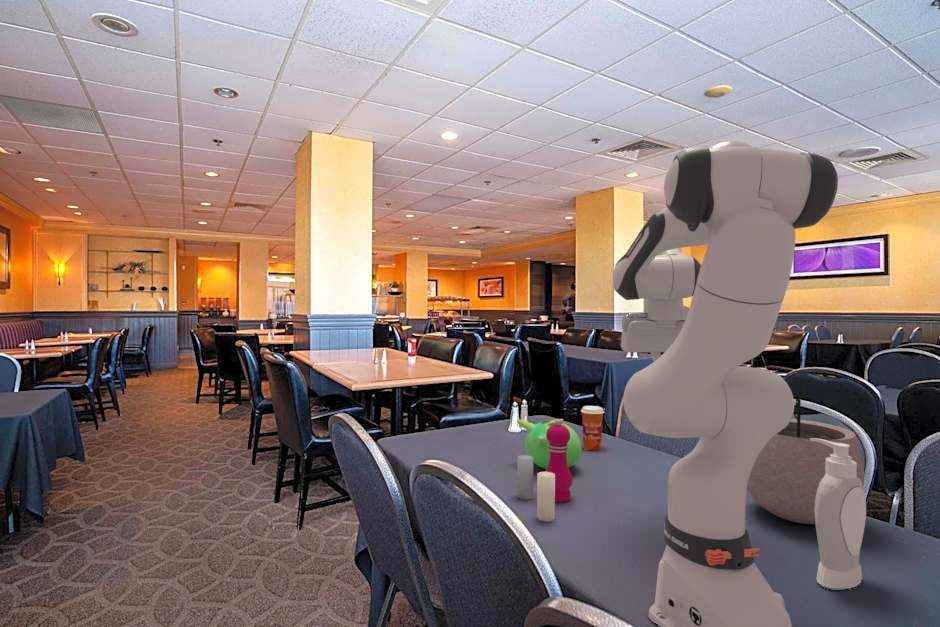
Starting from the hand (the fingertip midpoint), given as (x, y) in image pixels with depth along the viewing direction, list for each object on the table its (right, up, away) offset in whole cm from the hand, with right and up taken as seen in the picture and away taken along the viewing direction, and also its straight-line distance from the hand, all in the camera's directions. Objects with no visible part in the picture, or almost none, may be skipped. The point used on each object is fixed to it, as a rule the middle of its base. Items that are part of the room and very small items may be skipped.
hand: (662, 370), depth 118 cm
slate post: (-32, -33, +8) cm, 47 cm away
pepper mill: (-24, -33, +7) cm, 41 cm away
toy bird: (-22, -33, +30) cm, 50 cm away
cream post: (-29, -33, -5) cm, 44 cm away
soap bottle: (+19, -34, -30) cm, 49 cm away
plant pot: (+29, -33, -4) cm, 45 cm away
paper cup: (-4, -33, +51) cm, 60 cm away
